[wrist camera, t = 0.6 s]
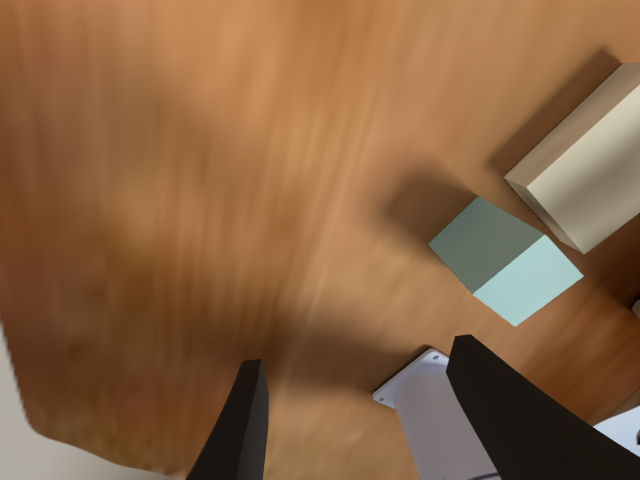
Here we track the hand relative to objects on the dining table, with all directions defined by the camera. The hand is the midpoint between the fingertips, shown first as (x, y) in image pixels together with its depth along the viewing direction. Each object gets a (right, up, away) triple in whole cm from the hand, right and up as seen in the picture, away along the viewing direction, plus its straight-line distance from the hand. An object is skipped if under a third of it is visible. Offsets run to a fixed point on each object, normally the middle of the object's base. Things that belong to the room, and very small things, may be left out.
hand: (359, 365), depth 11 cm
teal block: (+9, +5, +10) cm, 14 cm away
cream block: (+16, +10, +8) cm, 20 cm away
